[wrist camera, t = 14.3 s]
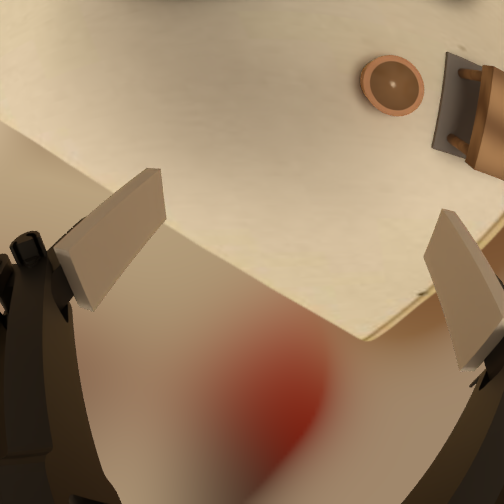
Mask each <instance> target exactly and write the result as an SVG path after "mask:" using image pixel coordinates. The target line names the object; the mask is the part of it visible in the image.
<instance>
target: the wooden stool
mask: <svg viewBox="0 0 504 504" xmlns="http://www.w3.org/2000/svg"><path fill="white" fill-rule="evenodd" d="M458 75H459V77H461V78H464V79H469V80H474V81H479V82H481V84H480V91H479V98H478V104H477V110H476V116H475V121H474V126H473V130H472V135H471V139H470V144H467V143H466V142H464V141H463V140H461V139H460V138H458V137H457V136H455V135H453V134H448V136H447V141H448V142H449V143H450V144H451V145H453V146H454V147H456V148H457V149H458V150H460V151H461V152H462V153H464V154H465V155H466V160H465V162H466V163H467V164H468V165H470V166H471V167H472V168H473V169H474V170H477V171H480V172H483V173H486V174H488V175H491V176H494V177H496V178H499V179H501V180H504V72H503V71H501V70H500V69H498V68H496V67H494V66H487V65H483V66H482V71H479V70H471V69H463V68H460V69H459V70H458Z"/></svg>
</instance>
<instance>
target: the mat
mask: <svg viewBox="0 0 504 504" xmlns="http://www.w3.org/2000/svg"><path fill="white" fill-rule="evenodd" d="M460 68H463V69H471V70H479V71H482V67H481V66H479V65H477V64H475V63H473V62H470V61H468V60H466V59H464V58H461V57H459V56H457V55H454V54H452V53H449V52H446V61H445V71H444V79H443V87H442V94H441V100H440V107H439V112H438V118H437V123H436V128H435V133H434V138H433V143H432V148H433V149H436V150H440V151H443V152H446V153H449V154H452V155H456V156H459V157H462V158H464V159H466V155H465V154H464V153H462V152H461V151H460V150H458V149H457V148H456V147H454V146H453V145H451V144H450V143H449V142H448V141H447V136H448V134H453V135H455V136H457V137H458V138H460V139H461V140H463V141H464V142H466V143H467V144H470V139H471V135H472V130H473V126H474V121H475V116H476V110H477V104H478V98H479V91H480V84H481V82H479V81H474V80H469V79H464V78H461V77H459V75H458V70H459V69H460Z"/></svg>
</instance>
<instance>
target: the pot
mask: <svg viewBox="0 0 504 504" xmlns="http://www.w3.org/2000/svg"><path fill="white" fill-rule="evenodd" d="M360 85H361V88H362V91H363V93H364V95H365V96H366V97H367V99H368V100H369V101H370V102H371V103H372V105H373V106H375V107H376V108H377V109H378V110H380V111H381V112H383V113H385V114H388V115H392V116H404V115H407V114H410V113H412V112H413V111H414V110H416V109H417V108H418V106H419V105H420V103H421V102H422V99H423V95H424V84H423V80H422V77H421V75H420V73H419V72H418V70H417V69H416V68H415V67H414V65H413V64H411V63H410V62H409V61H407V60H406V59H404V58H401V57H398V56H393V55H387V56H381V57H378V58H376V59H374V60H373V61H371V62H369V63H368V64H367V65H366V66H365V67H364V68H363V70H362V72H361V76H360Z"/></svg>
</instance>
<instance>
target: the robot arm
mask: <svg viewBox="0 0 504 504" xmlns="http://www.w3.org/2000/svg"><path fill="white" fill-rule="evenodd" d="M165 220H166V212H165V204H164V196H163V187H162V178H161V169H155V168H146V169H145V170H144V171H142V172H141V173H140V174H138V175H137V176H136V177H134V178H133V179H132V180H130V181H129V182H128V183H127V184H125V185H124V186H123V187H121V188H120V189H119V190H118V191H116V192H115V193H114V194H113V195H112V196H110V197H109V198H108V199H107V200H105V201H104V202H103V203H102V204H101V205H99V206H98V207H97V208H96V209H95V210H94V211H92V212H91V213H90V214H89V215H88V216H86V217H84V218H83V219H81V220H80V221H79V222H78V223H76V224H75V225H74V226H73V228H71V229H70V230H69V231H68V232H67V234H64V235H63V236H62V237H61V238H60V239H59V240H58V241H57V242H56V243H55V244H54V245H53V246H52V247H51V248H50V249H49V250H48V251H46V249H45V246H44V244H43V241H42V238H41V236H40V233H39V232H37V231H30V232H26V233H24V234H22V235H20V236H19V237H17V238H16V239H15V240H14V241H13V242H12V243H11V245H10V250H11V252H12V254H13V256H14V258H15V261H16V263H17V264H11V262H10V259H9V257H8V255H6V254H0V303H1V304H2V306H3V308H4V309H5V311H4V314H3V315H2V314H1V312H0V504H122V503H121V501H120V498H119V497H118V494H117V492H116V491H115V489H114V487H113V486H112V485H111V483H110V482H109V481H108V480H107V478H106V476H105V475H104V472H103V470H102V467H101V464H100V461H99V458H98V455H97V451H96V448H95V444H94V441H93V437H92V433H91V429H90V425H89V421H88V417H87V413H86V408H85V403H84V399H83V393H82V388H81V383H80V376H79V370H78V363H77V356H76V348H75V339H74V328H73V315H72V307H71V304H70V302H69V301H70V300H71V298H72V297H73V296H74V297H75V299H76V301H77V303H78V305H79V307H81V308H84V309H87V310H90V311H93V312H94V311H95V310H96V308H97V307H98V305H99V304H100V303H101V301H102V300H103V299H104V297H105V296H106V295H107V293H108V292H109V291H110V289H111V288H112V286H113V285H114V284H115V282H116V281H117V280H118V278H119V277H120V276H121V275H122V273H123V272H124V270H125V269H126V268H127V267H128V265H129V264H130V263H131V262H132V260H133V259H134V258H135V257H136V255H137V254H138V253H139V252H140V250H141V249H142V248H143V246H144V245H145V244H146V243H147V241H148V240H149V239H150V238H151V237H152V235H153V234H154V233H155V232H156V231H157V229H158V228H159V227H160V226H161V225H162V224H163V222H164V221H165ZM424 260H425V262H426V265H427V267H428V270H429V273H430V275H431V278H432V281H433V283H434V286H435V289H436V292H437V294H438V297H439V300H440V303H441V306H442V309H443V312H444V316H445V319H446V322H447V325H448V329H449V332H450V336H451V339H452V343H453V347H454V351H455V355H456V359H457V363H458V367H459V371H475V370H476V369H477V368H478V367H479V366H480V365H481V363H482V362H483V361H484V363H485V366H486V369H485V370H484V371H483V372H482V373H481V374H480V375H479V376H478V377H477V378H476V379H475V380H474V381H473V382H472V383H471V384H470V386H469V387H472V386H473V385H474V384H476V386H475V388H474V391H473V393H472V395H471V397H470V399H469V401H468V403H467V405H466V407H465V409H464V411H463V413H462V415H461V417H460V418H459V420H458V422H457V424H456V426H455V427H454V429H453V431H452V433H451V435H450V436H449V438H448V440H447V441H446V443H445V444H444V446H443V448H442V449H441V451H440V452H439V454H438V455H437V457H436V458H435V460H434V461H433V463H432V464H431V466H430V467H429V469H428V470H427V471H426V473H425V474H424V476H423V477H422V478H421V480H420V481H419V482H418V484H417V485H416V486H415V487H414V489H413V490H412V491H411V492H410V494H409V495H408V496H407V497H406V499H405V500H404V501H403V502H402V503H401V504H504V285H503V283H502V281H501V280H500V279H499V278H498V277H497V275H496V274H495V273H494V271H493V270H492V268H491V266H490V265H489V263H488V261H487V259H486V258H485V256H484V255H483V253H482V251H481V250H480V248H479V246H478V245H477V243H476V242H475V240H474V239H473V237H472V236H471V234H470V233H469V231H468V230H467V228H466V227H465V225H464V224H463V223H462V221H461V220H460V218H459V217H458V215H457V214H456V213H455V212H454V211H450V210H446V209H442V210H441V213H440V215H439V218H438V221H437V224H436V226H435V229H434V232H433V234H432V237H431V239H430V242H429V244H428V247H427V249H426V252H425V254H424Z"/></svg>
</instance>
